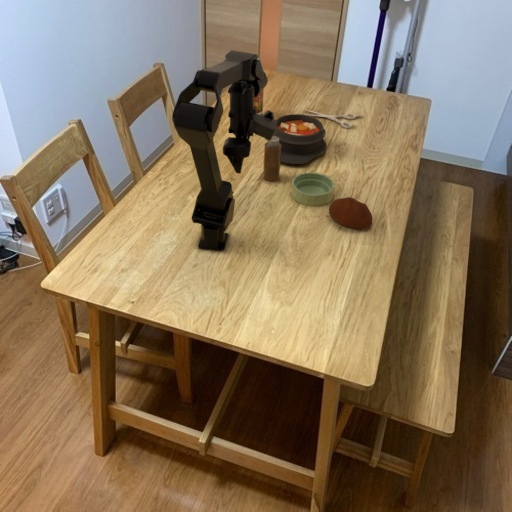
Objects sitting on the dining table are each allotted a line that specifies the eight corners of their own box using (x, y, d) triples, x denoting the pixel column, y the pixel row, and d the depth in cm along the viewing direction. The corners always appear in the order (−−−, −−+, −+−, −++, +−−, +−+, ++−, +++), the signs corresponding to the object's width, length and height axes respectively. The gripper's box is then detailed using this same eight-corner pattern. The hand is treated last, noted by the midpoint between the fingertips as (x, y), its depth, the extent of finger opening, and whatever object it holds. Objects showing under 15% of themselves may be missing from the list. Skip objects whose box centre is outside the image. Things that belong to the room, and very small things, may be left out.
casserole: (317, 174, 155) (320, 148, 150) (256, 163, 159) (257, 138, 153) (332, 136, 174) (335, 112, 168) (277, 127, 177) (279, 103, 172)
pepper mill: (281, 182, 151) (284, 141, 143) (265, 184, 150) (267, 143, 142) (276, 174, 154) (278, 133, 146) (261, 176, 153) (262, 135, 145)
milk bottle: (237, 119, 181) (237, 61, 168) (244, 110, 186) (245, 53, 173) (258, 123, 179) (260, 64, 166) (265, 113, 185) (267, 56, 172)
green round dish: (332, 209, 142) (334, 197, 139) (289, 205, 142) (290, 193, 140) (332, 186, 150) (334, 174, 148) (292, 182, 151) (293, 170, 149)
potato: (369, 238, 133) (374, 212, 127) (323, 229, 135) (327, 203, 130) (372, 220, 138) (378, 195, 133) (329, 212, 140) (332, 187, 135)
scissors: (355, 127, 177) (298, 116, 181) (355, 129, 177) (297, 118, 182) (361, 114, 185) (306, 104, 189) (361, 116, 185) (306, 106, 190)
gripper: (271, 126, 117) (268, 186, 127) (279, 92, 131) (275, 148, 142) (222, 122, 118) (222, 181, 128) (235, 89, 132) (234, 144, 142)
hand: (241, 163), depth 135 cm, fingers open, 9 cm apart
